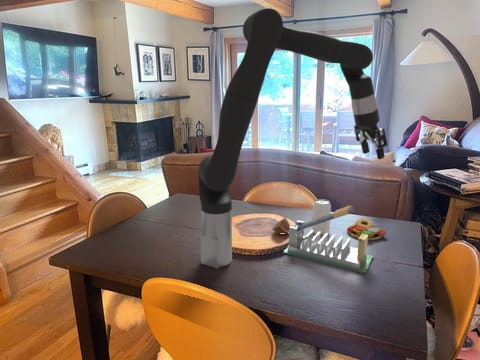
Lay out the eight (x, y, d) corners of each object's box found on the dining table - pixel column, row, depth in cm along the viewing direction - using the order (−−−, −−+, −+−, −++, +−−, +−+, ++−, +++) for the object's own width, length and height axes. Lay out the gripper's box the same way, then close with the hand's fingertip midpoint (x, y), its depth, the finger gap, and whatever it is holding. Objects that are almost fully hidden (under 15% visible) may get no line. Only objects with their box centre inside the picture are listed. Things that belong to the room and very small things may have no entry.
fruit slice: (287, 239, 126) (287, 226, 125) (269, 236, 129) (269, 223, 128) (292, 230, 134) (293, 218, 133) (275, 228, 136) (276, 216, 135)
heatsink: (283, 253, 116) (284, 227, 114) (296, 239, 126) (298, 216, 124) (365, 274, 104) (368, 246, 101) (373, 257, 114) (375, 231, 111)
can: (329, 236, 129) (331, 205, 126) (311, 234, 131) (313, 203, 127) (328, 229, 136) (331, 199, 132) (311, 227, 137) (313, 198, 134)
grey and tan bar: (293, 234, 117) (290, 228, 117) (298, 229, 121) (295, 224, 121) (351, 214, 106) (348, 208, 106) (355, 210, 109) (352, 204, 109)
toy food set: (362, 224, 141) (362, 217, 140) (392, 236, 130) (393, 228, 129) (339, 232, 133) (340, 224, 132) (369, 245, 123) (370, 236, 122)
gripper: (343, 111, 120) (352, 155, 126) (367, 115, 107) (376, 164, 112) (362, 104, 121) (371, 147, 127) (389, 107, 108) (396, 156, 113)
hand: (373, 155), depth 119 cm, fingers open, 8 cm apart
